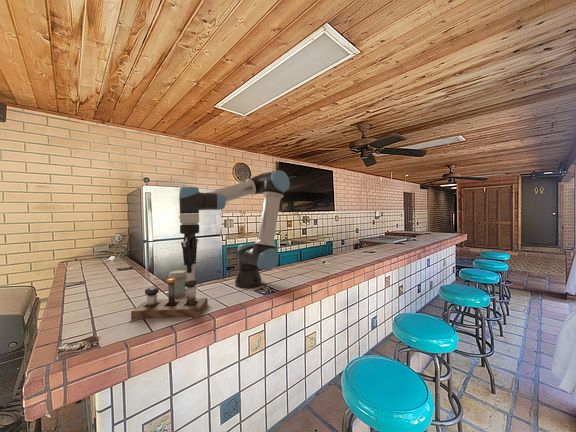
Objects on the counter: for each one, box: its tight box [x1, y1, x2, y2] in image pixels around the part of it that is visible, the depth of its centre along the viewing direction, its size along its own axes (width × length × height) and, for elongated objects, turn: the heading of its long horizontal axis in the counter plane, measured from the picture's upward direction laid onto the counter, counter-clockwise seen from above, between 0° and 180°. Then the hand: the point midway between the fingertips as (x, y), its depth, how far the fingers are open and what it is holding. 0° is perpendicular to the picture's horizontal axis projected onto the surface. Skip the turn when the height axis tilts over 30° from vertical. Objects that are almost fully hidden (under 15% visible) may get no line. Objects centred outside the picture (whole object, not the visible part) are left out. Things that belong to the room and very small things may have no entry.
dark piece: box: [166, 278, 176, 305], centre depth 99 cm, size 3×3×10 cm
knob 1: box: [144, 286, 160, 307], centre depth 99 cm, size 5×5×10 cm
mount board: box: [130, 297, 209, 320], centre depth 99 cm, size 26×12×3 cm, turn 93°
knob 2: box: [184, 278, 198, 305], centre depth 99 cm, size 5×5×10 cm
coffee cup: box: [168, 269, 187, 298], centre depth 118 cm, size 8×8×12 cm
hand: (190, 279), depth 99 cm, fingers closed
